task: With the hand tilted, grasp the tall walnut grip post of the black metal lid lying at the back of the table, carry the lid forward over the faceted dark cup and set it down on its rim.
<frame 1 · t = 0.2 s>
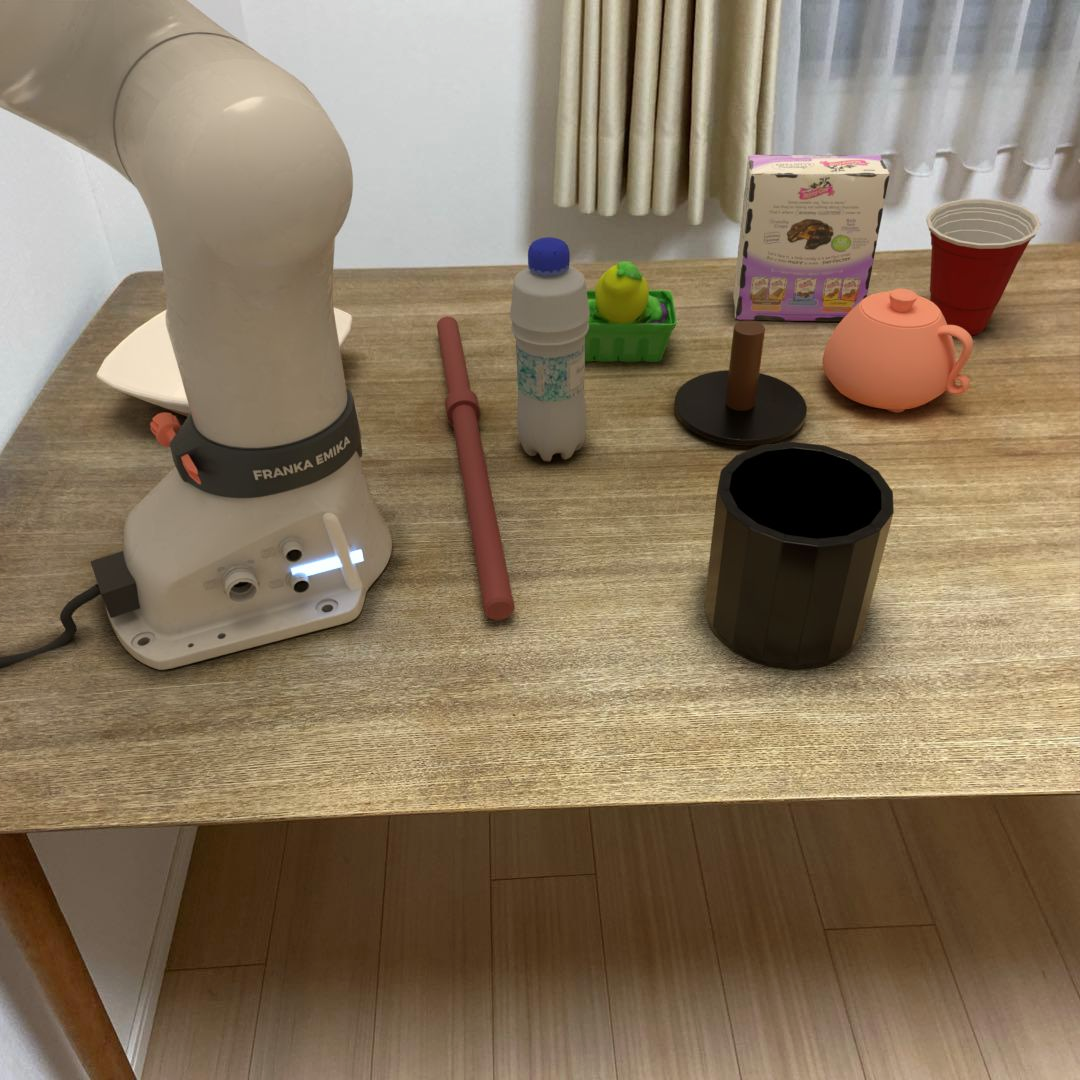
sugar bowl: (890, 393, 100), on the table
bowl: (240, 391, 103), on the table
plastic cup: (954, 326, 110), on the table
bottle: (552, 449, 94), on the table
red brown collared rod: (469, 457, 93), on the table
faceted dark cup: (782, 612, 76), on the table
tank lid: (739, 408, 97), point 1 cm above the table
fruit basket: (617, 354, 107), on the table
candy box: (795, 311, 114), on the table
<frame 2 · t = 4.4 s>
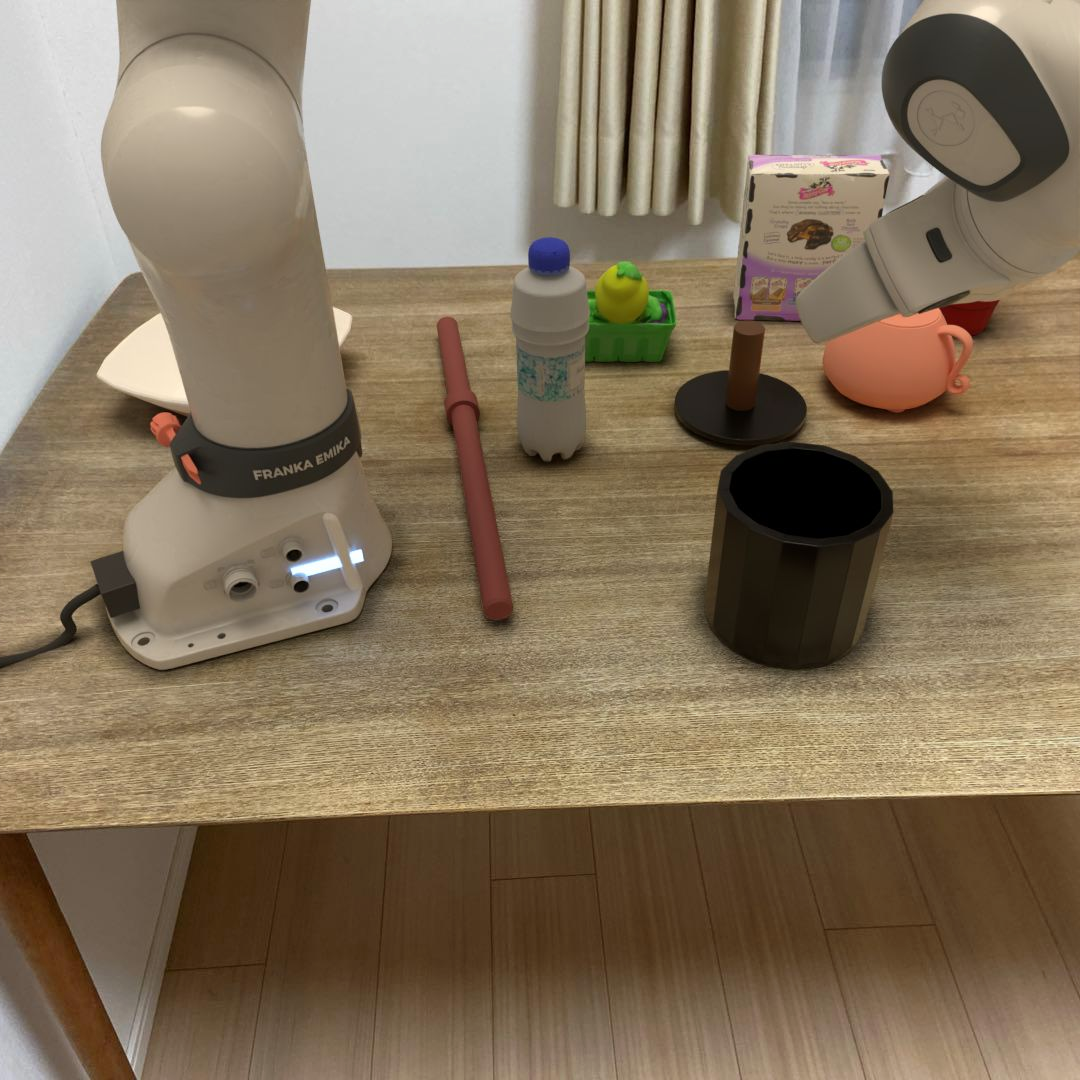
hand: (861, 310, 79), 16 cm above the table, tool tilted 45°, fingers open, 8 cm apart
nothing on the table moved.
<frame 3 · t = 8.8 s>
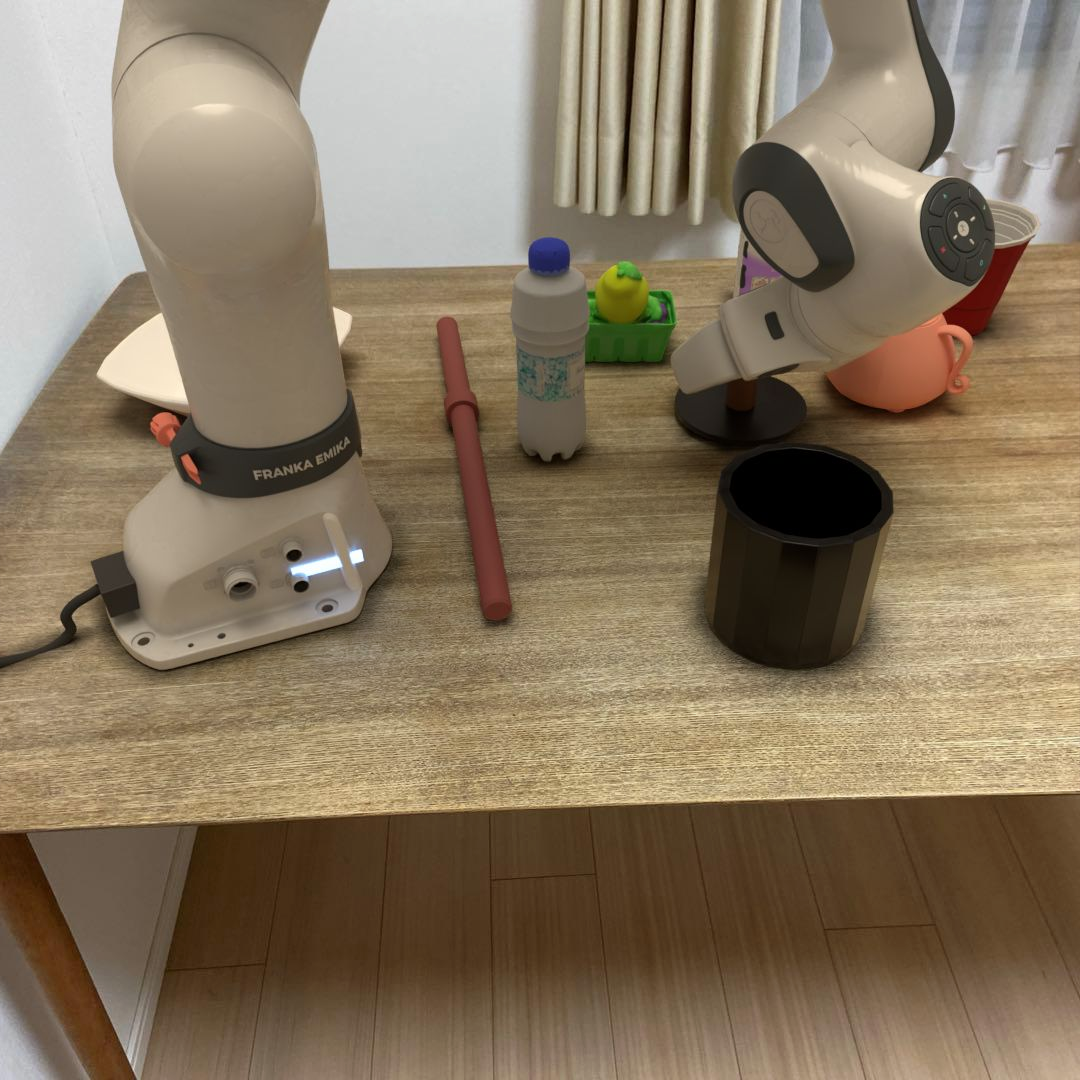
hand: (740, 366, 95), 5 cm above the table, tool tilted 45°, fingers closed on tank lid, 3 cm apart
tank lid: (739, 408, 97), point 1 cm above the table, touching gripper
everything else where it was.
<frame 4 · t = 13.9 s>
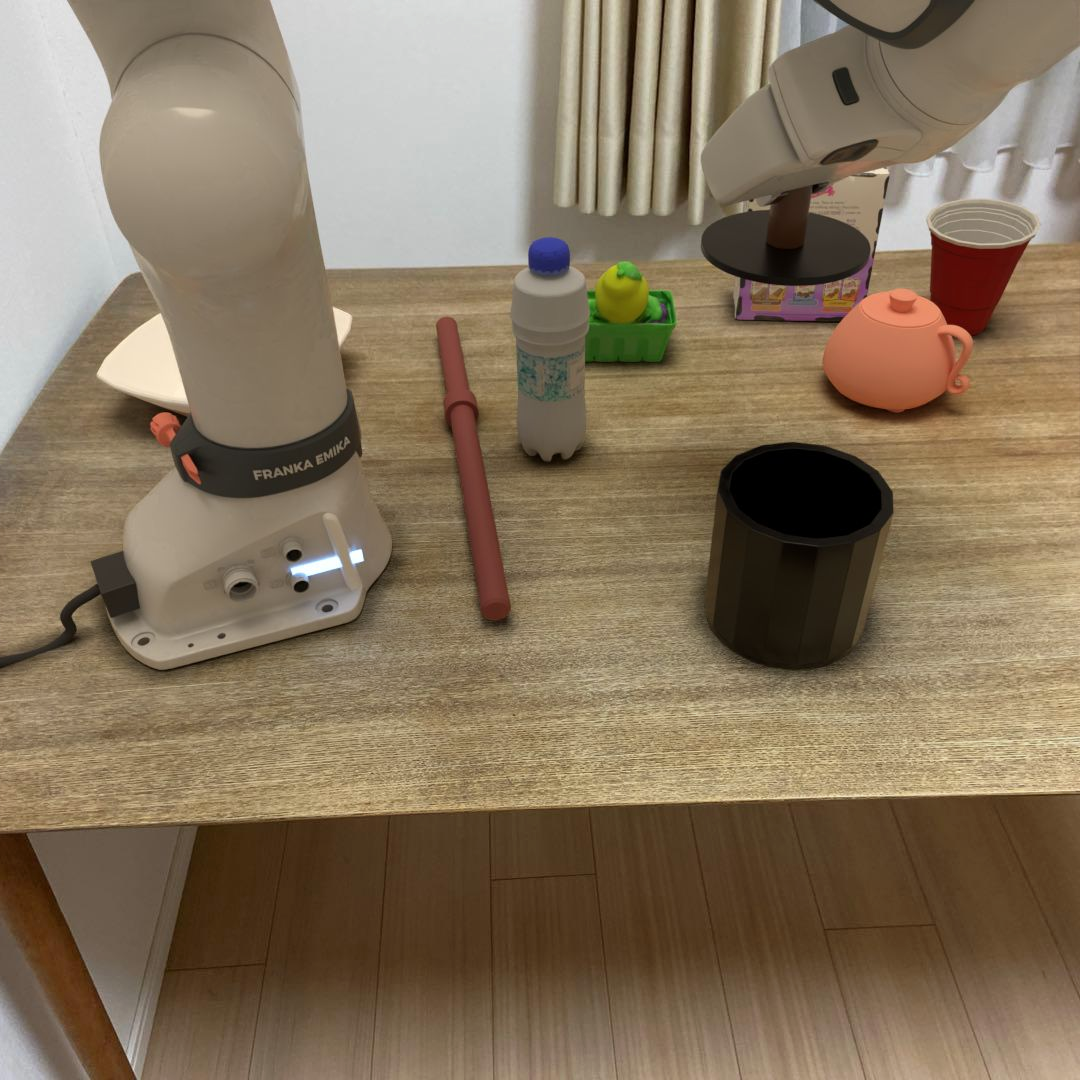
hand: (785, 190, 74), 25 cm above the table, tool tilted 45°, fingers closed on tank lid, 3 cm apart
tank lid: (783, 249, 76), point 21 cm above the table, touching gripper
everything else where it was.
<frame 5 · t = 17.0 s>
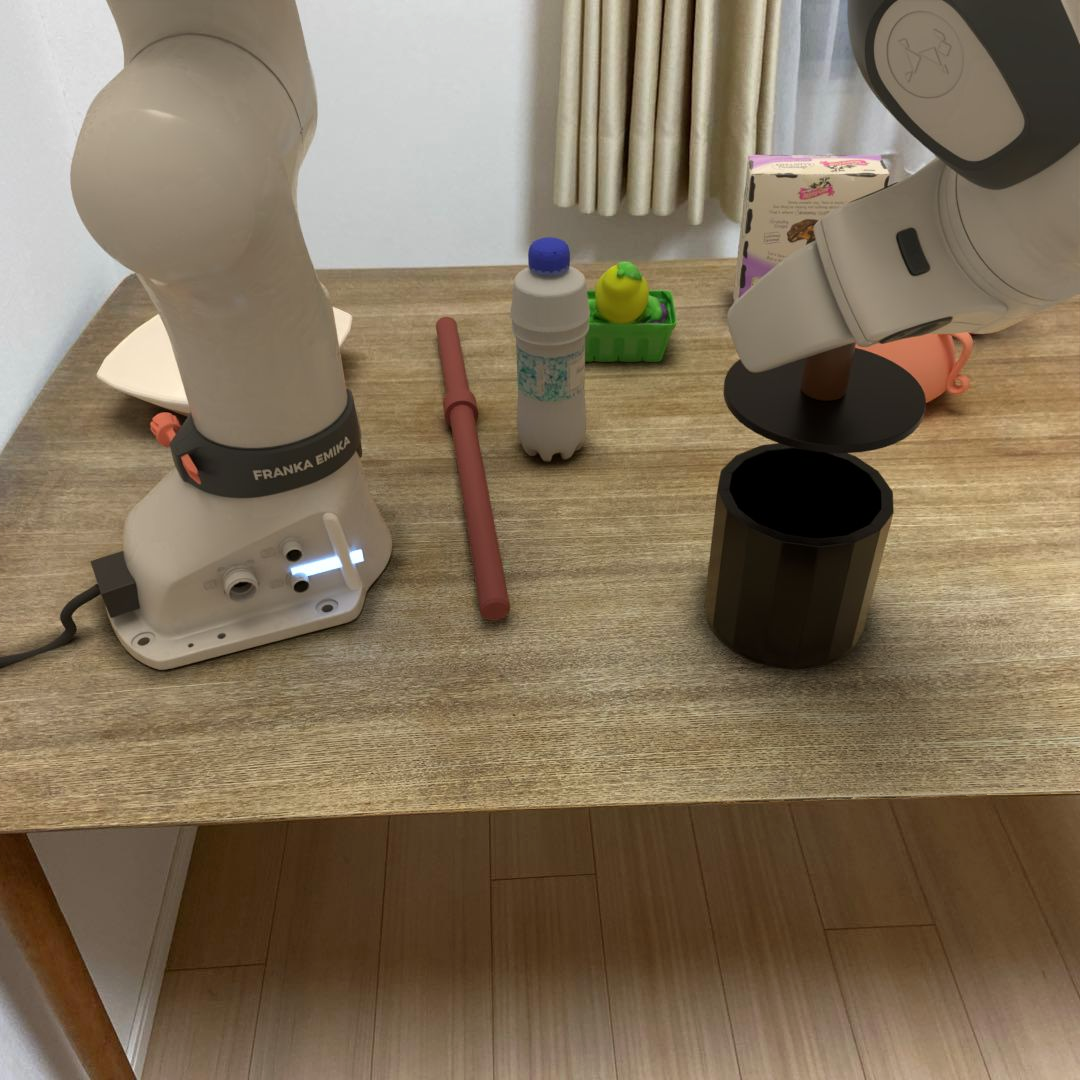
hand: (825, 333, 62), 23 cm above the table, tool tilted 45°, fingers closed on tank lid, 3 cm apart
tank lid: (822, 397, 65), point 19 cm above the table, touching gripper
everything else where it was.
when the fingers open (16 cm above the table, at t = 19.3 s): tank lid stays where it is, resting on faceted dark cup.
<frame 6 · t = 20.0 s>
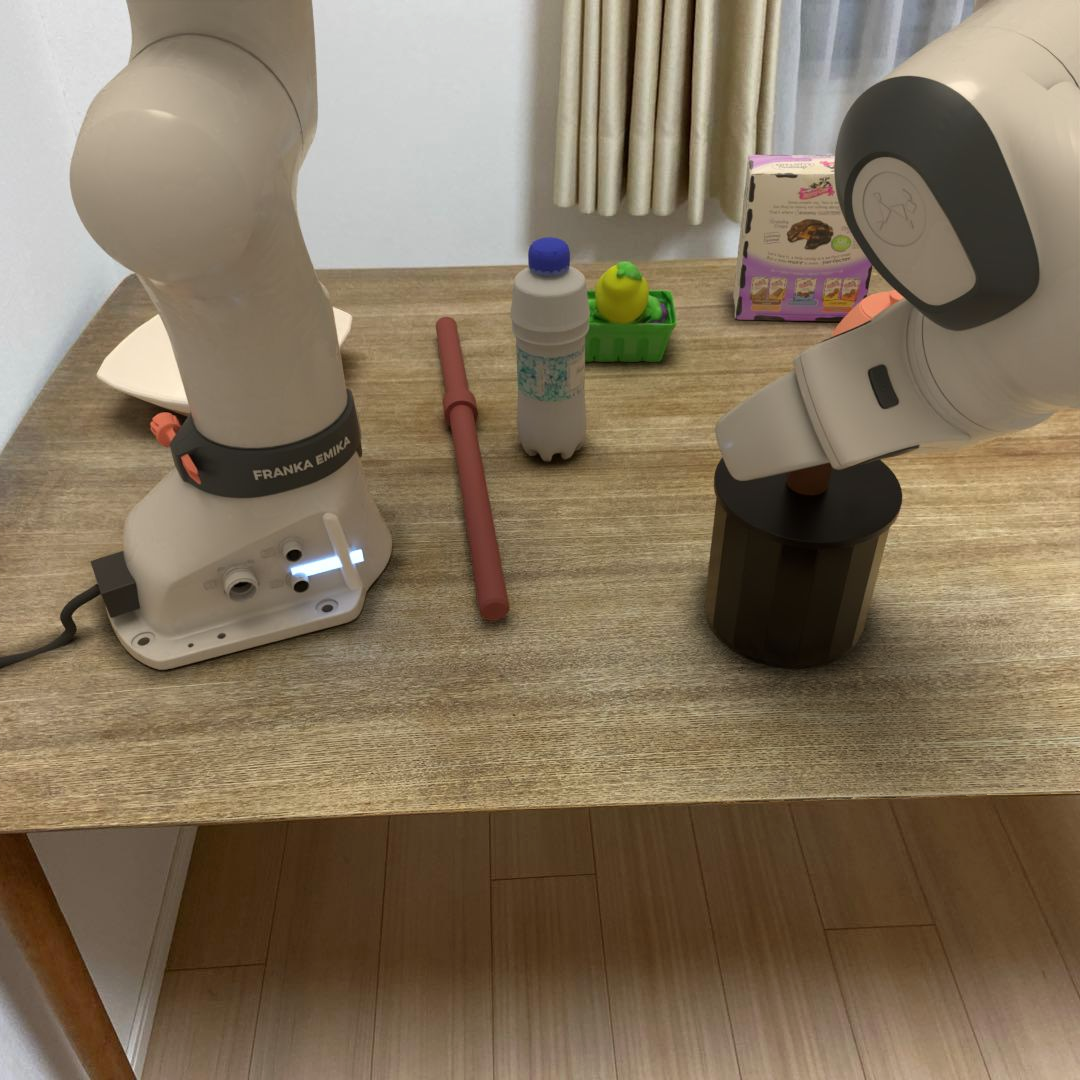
hand: (808, 429, 67), 16 cm above the table, tool tilted 45°, fingers open, 8 cm apart
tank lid: (805, 490, 69), point 11 cm above the table, touching faceted dark cup
everything else where it was.
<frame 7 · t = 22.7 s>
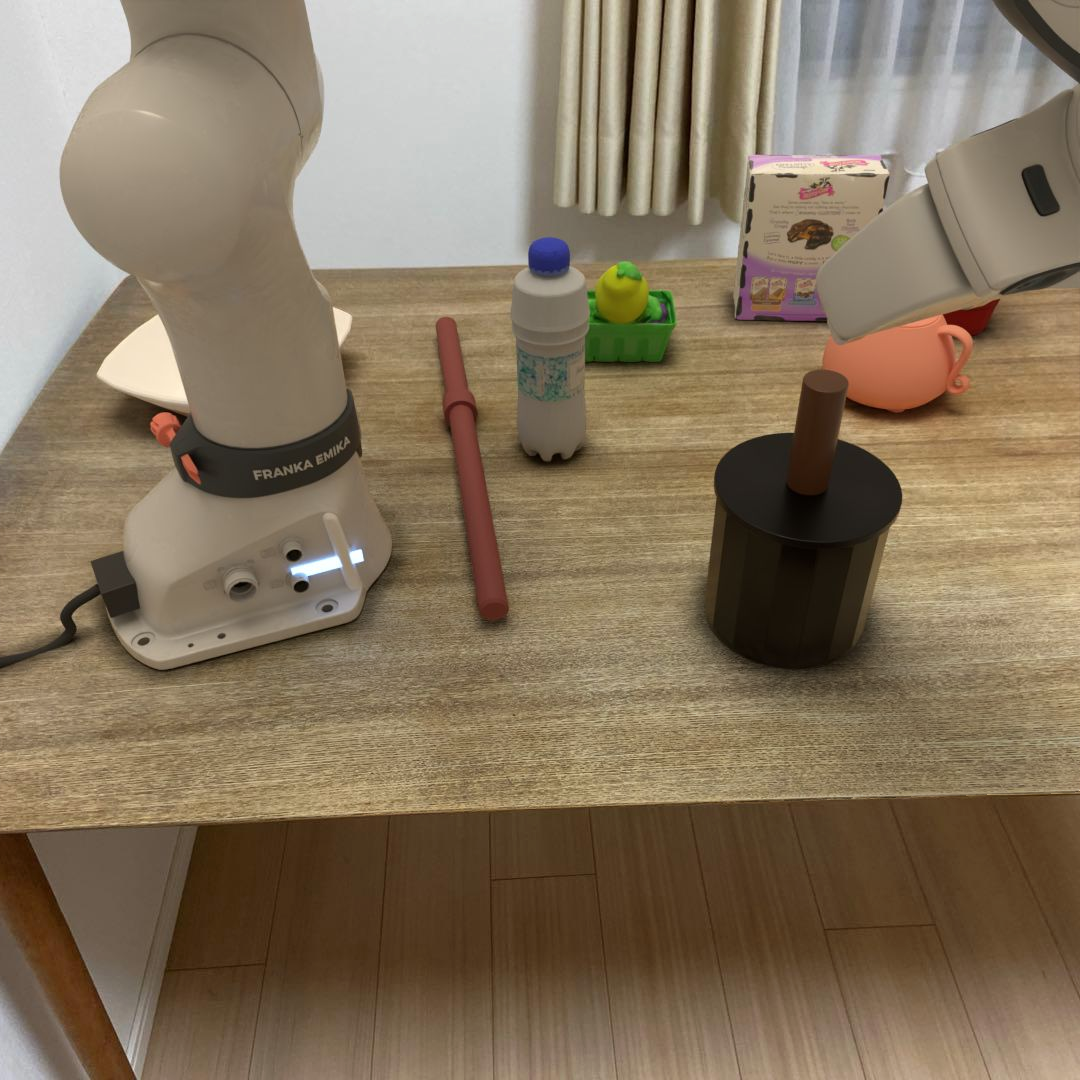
hand: (904, 313, 58), 26 cm above the table, tool tilted 40°, fingers open, 8 cm apart
nothing on the table moved.
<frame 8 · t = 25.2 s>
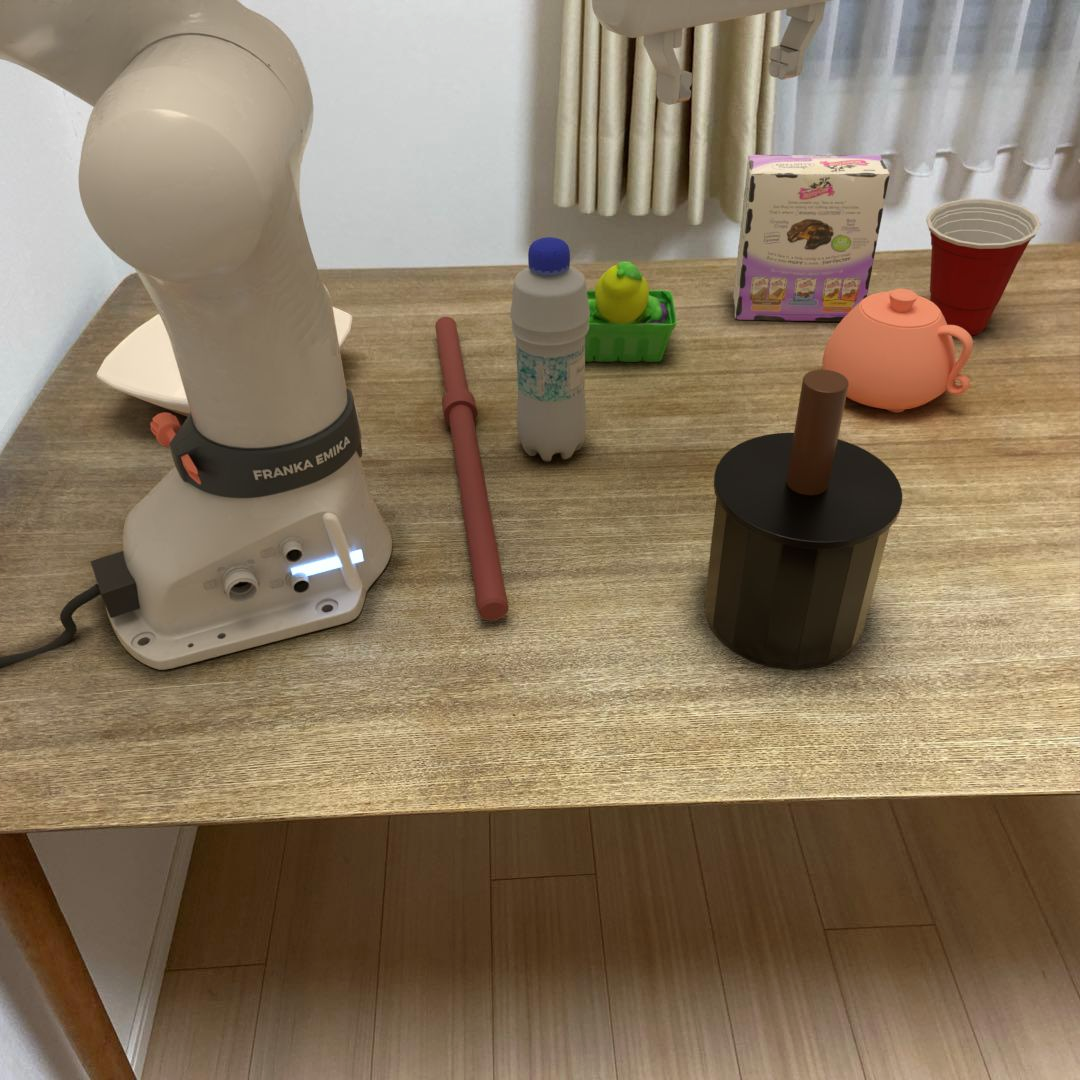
hand: (730, 88, 68), 33 cm above the table, tool pointing down, fingers open, 8 cm apart
nothing on the table moved.
at the end: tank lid 0.1 cm off-centre on the faceted dark cup, point 11.5 cm above the faceted dark cup's base; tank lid tilted 0° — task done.
